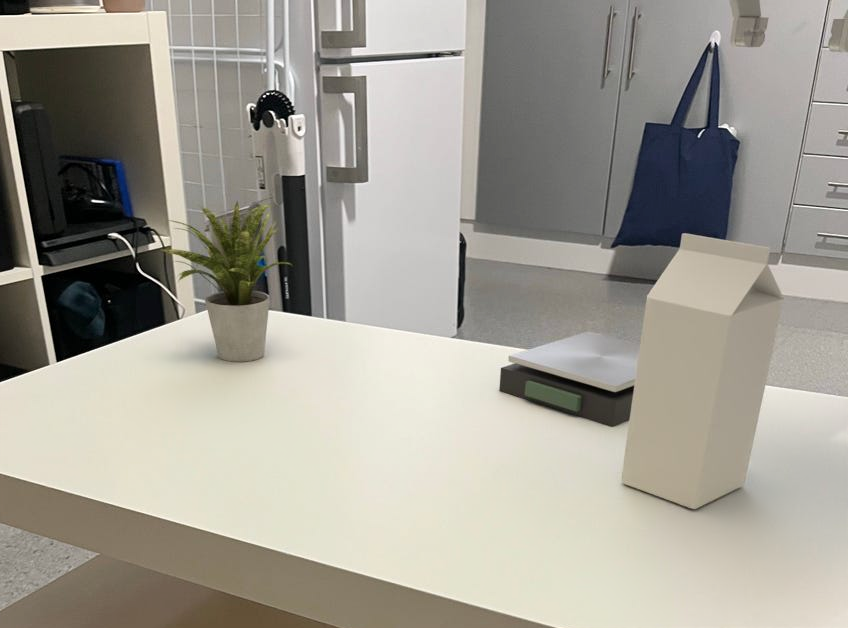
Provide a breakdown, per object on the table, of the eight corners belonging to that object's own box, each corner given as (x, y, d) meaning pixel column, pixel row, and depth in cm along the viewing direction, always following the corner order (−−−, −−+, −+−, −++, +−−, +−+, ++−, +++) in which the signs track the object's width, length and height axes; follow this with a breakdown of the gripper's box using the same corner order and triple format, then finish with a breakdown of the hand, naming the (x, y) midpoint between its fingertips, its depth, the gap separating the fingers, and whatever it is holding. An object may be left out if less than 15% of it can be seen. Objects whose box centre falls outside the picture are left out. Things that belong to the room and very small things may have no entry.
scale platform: (587, 336, 109) (588, 330, 108) (693, 363, 101) (694, 357, 100) (508, 361, 101) (508, 355, 101) (615, 392, 93) (616, 386, 93)
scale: (584, 362, 111) (586, 340, 110) (695, 393, 102) (699, 369, 101) (495, 392, 103) (496, 368, 101) (608, 428, 94) (611, 403, 93)
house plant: (215, 329, 123) (203, 182, 114) (321, 339, 119) (317, 188, 110) (156, 363, 111) (137, 203, 102) (271, 376, 107) (262, 210, 98)
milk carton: (694, 512, 78) (742, 255, 68) (619, 484, 83) (654, 239, 73) (744, 487, 82) (796, 241, 72) (670, 462, 87) (709, 227, 77)
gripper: (1042, -252, 53) (958, 55, 60) (772, -193, 69) (732, 44, 76) (951, -263, 51) (876, 56, 58) (695, -199, 67) (662, 44, 74)
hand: (793, 49), depth 67 cm, fingers open, 8 cm apart
